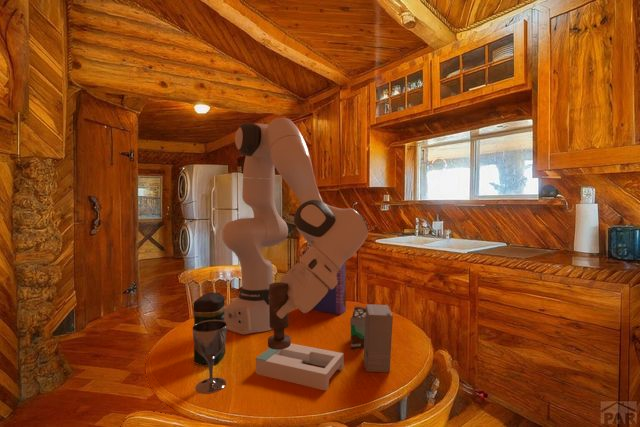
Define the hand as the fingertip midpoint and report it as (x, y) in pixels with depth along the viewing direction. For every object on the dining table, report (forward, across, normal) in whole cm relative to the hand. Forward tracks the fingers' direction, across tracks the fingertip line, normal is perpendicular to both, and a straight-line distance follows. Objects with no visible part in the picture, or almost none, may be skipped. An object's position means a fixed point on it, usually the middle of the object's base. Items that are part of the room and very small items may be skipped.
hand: (276, 311), depth 79 cm
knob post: (+5, 0, +6) cm, 8 cm away
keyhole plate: (+9, -10, +20) cm, 23 cm away
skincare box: (-6, -6, +34) cm, 36 cm away
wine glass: (+25, -9, +4) cm, 27 cm away
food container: (-7, -21, +36) cm, 42 cm away
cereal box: (-5, -55, +34) cm, 65 cm away
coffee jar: (+25, -24, +4) cm, 35 cm away
